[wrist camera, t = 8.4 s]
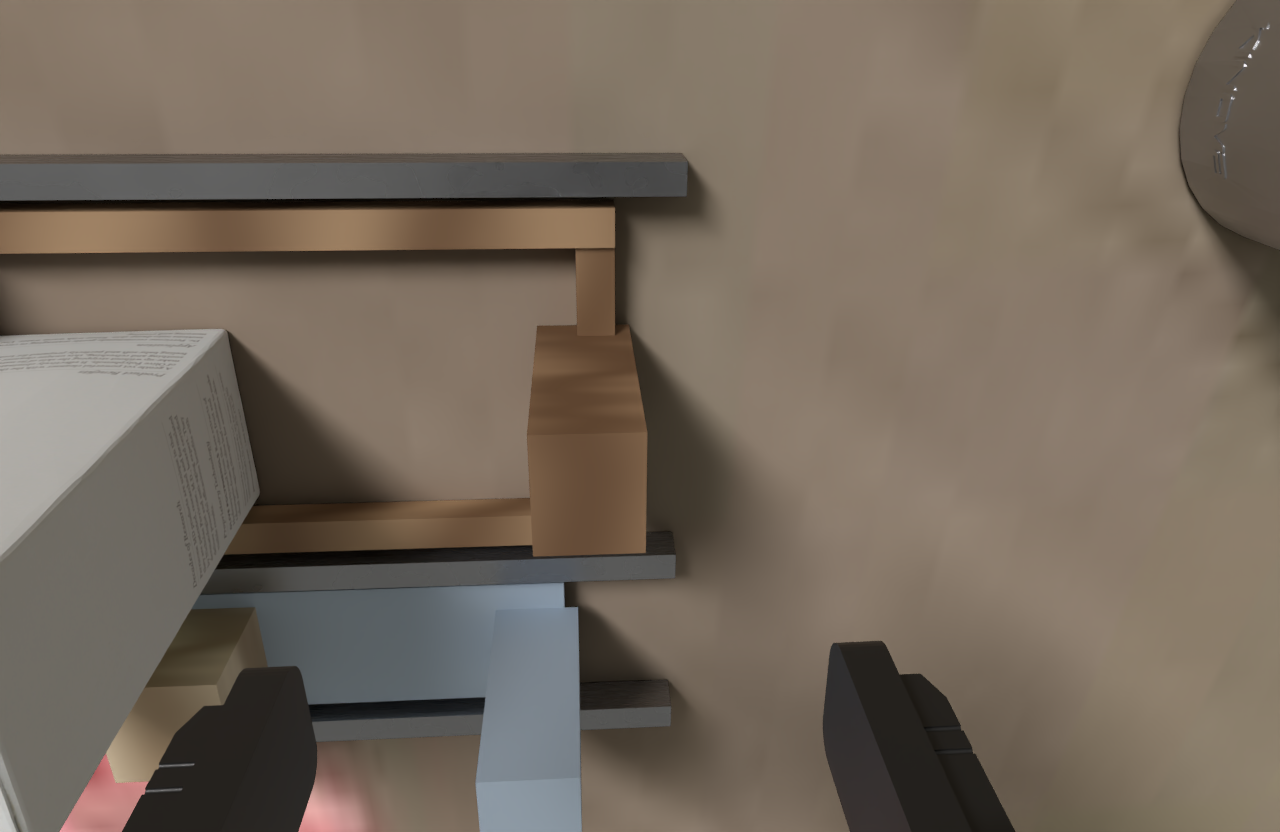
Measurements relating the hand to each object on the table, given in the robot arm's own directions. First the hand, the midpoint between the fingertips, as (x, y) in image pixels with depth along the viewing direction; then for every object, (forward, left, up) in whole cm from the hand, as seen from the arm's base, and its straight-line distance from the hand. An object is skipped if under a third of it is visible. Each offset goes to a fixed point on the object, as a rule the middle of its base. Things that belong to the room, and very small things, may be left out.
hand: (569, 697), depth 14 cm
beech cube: (+13, +12, -17) cm, 25 cm away
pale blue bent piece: (+9, +12, -18) cm, 23 cm away
